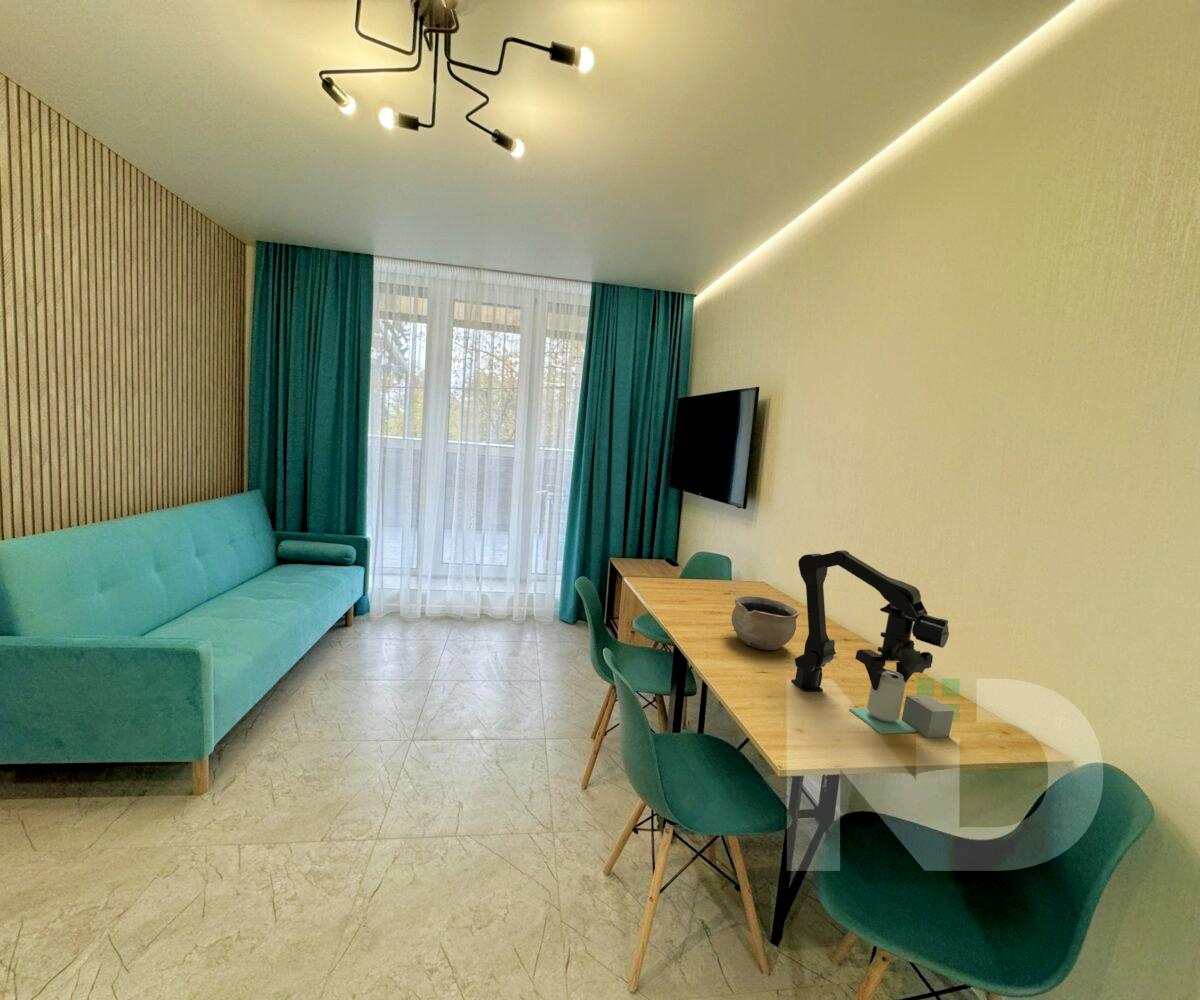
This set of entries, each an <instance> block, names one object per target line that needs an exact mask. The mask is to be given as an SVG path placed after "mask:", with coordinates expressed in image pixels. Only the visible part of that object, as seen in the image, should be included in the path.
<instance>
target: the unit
mask: <svg viewBox="0 0 1200 1000" xmlns="http://www.w3.org/2000/svg"><path fill="white" fill-rule="evenodd" d="M954 713H955V710H953V709H951V708H950V707H948V706H946V705H945V704H944V703H942V702H940V701H938V700H937V699H935V698H933V697H931V696H929V695H927V694H922V695H921V694H918V695H917V694H915V695H914V694H912V695H911V694H910V695H905V700H904V705H903V711H902V714H901V715H902V717H901V720H902V721H904V722H905V723H907V724H908V725H910V726H911V727H913V728H914V729H916V732H918V733H920V734H921V735H922V736H924V737H925V738H928V739H929V738H948V737H950V734H951V730H952V723H953V718H954Z"/></svg>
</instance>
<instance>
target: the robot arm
mask: <svg viewBox="0 0 1200 1000" xmlns="http://www.w3.org/2000/svg"><path fill="white" fill-rule="evenodd" d="M797 565H798V569H799V573H800V576H801V578H802V580H803V582H804V584H805V590H806V591H805V592H806V595H805V596H806V607H807V609H806V610H807V612H806V613H807V624H808V625H807V627H808V634H807V638H806V640H805V642H804V643H805V644H804V651H803V654H801V655H799V656H797V657H795V658H794V664H795V666H796V667H797V668H796V671H795V679H794V678H793V679H791V680H790V681H791V682H792V683H793V684H794V685H796V686H797V687H798V688H800V689H801V690H802V692H823V691H824V690H823V687H821V684H822V678H823V667H826V665H827V664H828V663H831V662H832V661H833V659H835V658H834V657H835V655H836V654H837V652H836V649H835V644H836V641H835V639H830V638H829V636H828V634H827V625H826V624H827V623H826V608H825V595H824V594H825V591H824V583H825V582H826V579H827V575H828V568H830V567H836V566H839V567H841V568H842V569H843V570H845V571H847V572H849V573H851V574H852V575H853V576H855V577H857V579H860V580H861V581H862V582H864V583H866V584H868V585H869V586H870V587H873V588H874V589H875V590H876V591H877V592H879V594H880V595H881V596H882V597H883V599H884V600H885V601H887V602H888V603H887V604H886V605H885V606H884V607H880V609H879V611H880V612H883V613H886V614H888V615H887V620H886V625H885V631H881V632H880V637H881V638H883V642H882V646H878V647H877V651H878V652H879V653H880V654H879V653H877V652H876V651H875V650H872V649H863V648H862V649H858V650H856V654H855V660H857V662H860V663H861V664H863V665H864V667H865V669H866V671H867V674H868V677H869V682H870V686H871V685H872V688H873V689H874V690H875V691H877V689H878V686H879V683H880V679H881V675H882V673H883V672H885V671H887V670H886V669H887V668H886V669H884V668H885V667H886V663H896V664H895V665H896V670H895V671H896V672H898V673H900V674H901V675H903V677H904V679H903V680H904V681H905V683H906V684H907V682H908V681H909V680H910V678H911V677H912V675H913V674H915V673H919V674H923V673H924V672H925V670H926V669H931V668H932V664H933V660H934V659H933V658H934V655H933V654H932V653H931V652H929V651H922V652H921V651H920V650H916V649H915V643H914V640H912V639H911V636H912V635H913V636H912V637H915V640H917V641H920V642H922V643H925V644H926V643H927V644H929V645H932V646H935V647H938V648H940V649H943V648H944V647H945V646H946V644H947V642H948V639H949V637H950V636H949V635H950V632H949V625H948V623H949V621H948V619H944V618H939V617H935V616H931V615H928V611H927V609H926V607H925V606H924V603H923V602H922V595H921V591H920V590H919V589H918V588H917V587H916V586H914V585H912V584H909V583H906V582H905V581H902V580H899V579H895V578H892V577H890V576H887V575H886V574H884V573H882V572H881V571H879V570H878V569H876V568H874V567H873V566H870V565H869V564H867V563H866V562H864V561H862V560H860V559H859V558H858V557H856V556H855V555H852V554H851V553H850V552H849V551H847V550H845V549H844V550H841V549H840V550H835V551H834V552H829V553H824V554H821V553H809V554H804V555H802V556H801V557H800V558H799V560H798V564H797Z"/></svg>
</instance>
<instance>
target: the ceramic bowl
mask: <svg viewBox="0 0 1200 1000" xmlns="http://www.w3.org/2000/svg"><path fill="white" fill-rule="evenodd" d="M734 603H735V607H733V610H732V613H731V624H732V627H733V629H734V632H735V634H736V636H738V637H737V638H739V639H740V640H741V642H743V643H744V644H745V645H747V646H750V647H752V648H754V649H758V650H764V651H773V650H774V651H775V650H778V649H780V648H781V647H783V646H786V644H788V643H789V642H790V641H791V640H792V638H793V637H794V635H795V634H796V630H797V619H798V616H799V615H800V612H799V611H798V610H797V609H796V608H794V607H793V606H790V605H789V604H788V605H787V604H786V603H784V602H781V601H778V600H774V599H771V598H767V597H762V596H752V595H751V596H750V595H740V596H735V598H734Z"/></svg>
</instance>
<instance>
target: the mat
mask: <svg viewBox="0 0 1200 1000" xmlns="http://www.w3.org/2000/svg"><path fill="white" fill-rule="evenodd" d="M849 712H851V713H852V714H853V715H855V716H856V717H858V718H859V719H860V720H862V721H863V722H864V723H866V724H867V725H868V726H870V727H871V728H872V729H874V730H875V731H877V732H878V733H879V734H881V735H882V734H885V735H886V734H902V733H903V734H907V733H916V732H917V730H916V729H914V728H913V727H911V726H910V725H908V724H907V723H905V722H904V721H902V718H899V719H898V720H895V721H893V722H887V721H883V720H880V719H878V718H876V717H874V716H873V715H871V714H870V712H869V711H868V709H867V707H854V708H853V707H852V708H851V707H850V708H849Z"/></svg>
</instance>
